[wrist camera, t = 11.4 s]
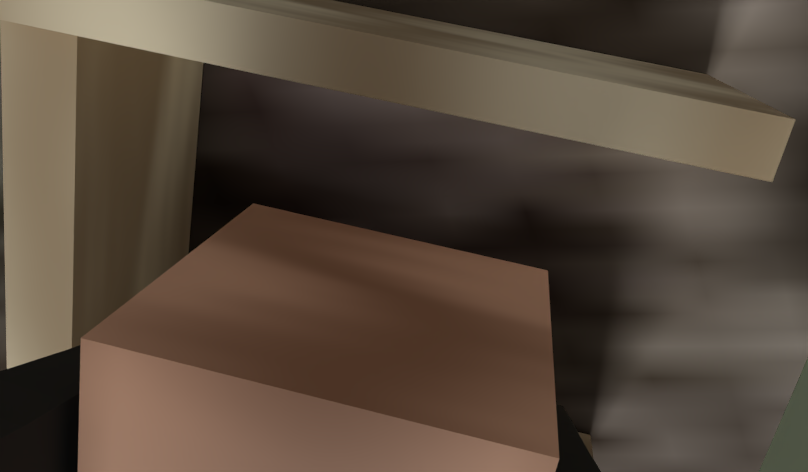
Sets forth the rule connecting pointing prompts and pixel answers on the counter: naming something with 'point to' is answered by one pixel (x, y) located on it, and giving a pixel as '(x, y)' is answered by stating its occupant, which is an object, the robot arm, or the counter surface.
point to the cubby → (290, 60)
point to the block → (323, 358)
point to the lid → (791, 433)
